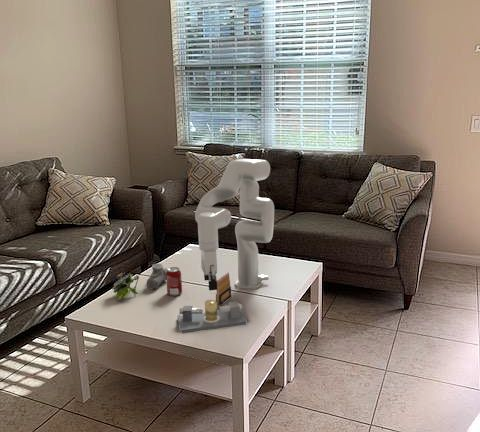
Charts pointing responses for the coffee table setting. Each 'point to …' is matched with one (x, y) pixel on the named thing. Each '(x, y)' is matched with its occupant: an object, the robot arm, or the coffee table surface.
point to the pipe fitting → (157, 276)
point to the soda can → (174, 281)
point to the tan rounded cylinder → (211, 310)
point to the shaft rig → (225, 318)
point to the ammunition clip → (223, 289)
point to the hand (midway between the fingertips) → (210, 284)
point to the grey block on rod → (189, 312)
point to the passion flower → (124, 285)
